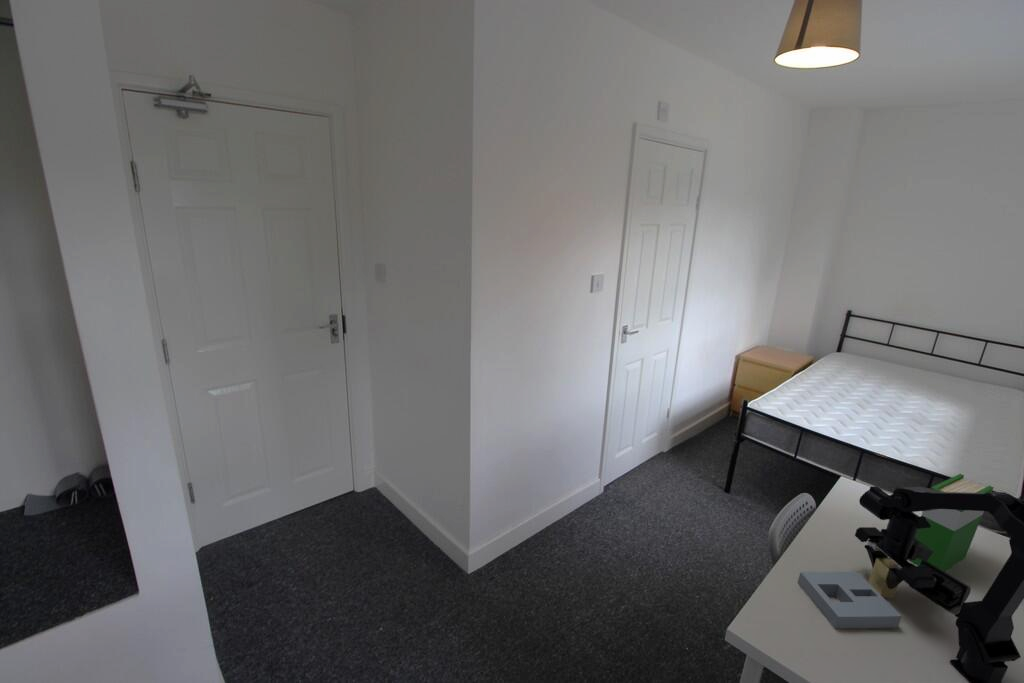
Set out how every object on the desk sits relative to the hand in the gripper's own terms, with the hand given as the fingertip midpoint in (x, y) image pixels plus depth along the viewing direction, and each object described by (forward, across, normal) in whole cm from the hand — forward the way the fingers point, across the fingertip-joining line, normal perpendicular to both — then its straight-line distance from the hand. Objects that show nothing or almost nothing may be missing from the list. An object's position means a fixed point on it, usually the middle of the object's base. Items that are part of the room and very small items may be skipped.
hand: (883, 582), depth 123 cm
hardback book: (+3, +12, -28) cm, 30 cm away
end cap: (+3, -1, -14) cm, 15 cm away
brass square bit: (+3, 0, 0) cm, 3 cm away
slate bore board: (+3, -4, +13) cm, 14 cm away
